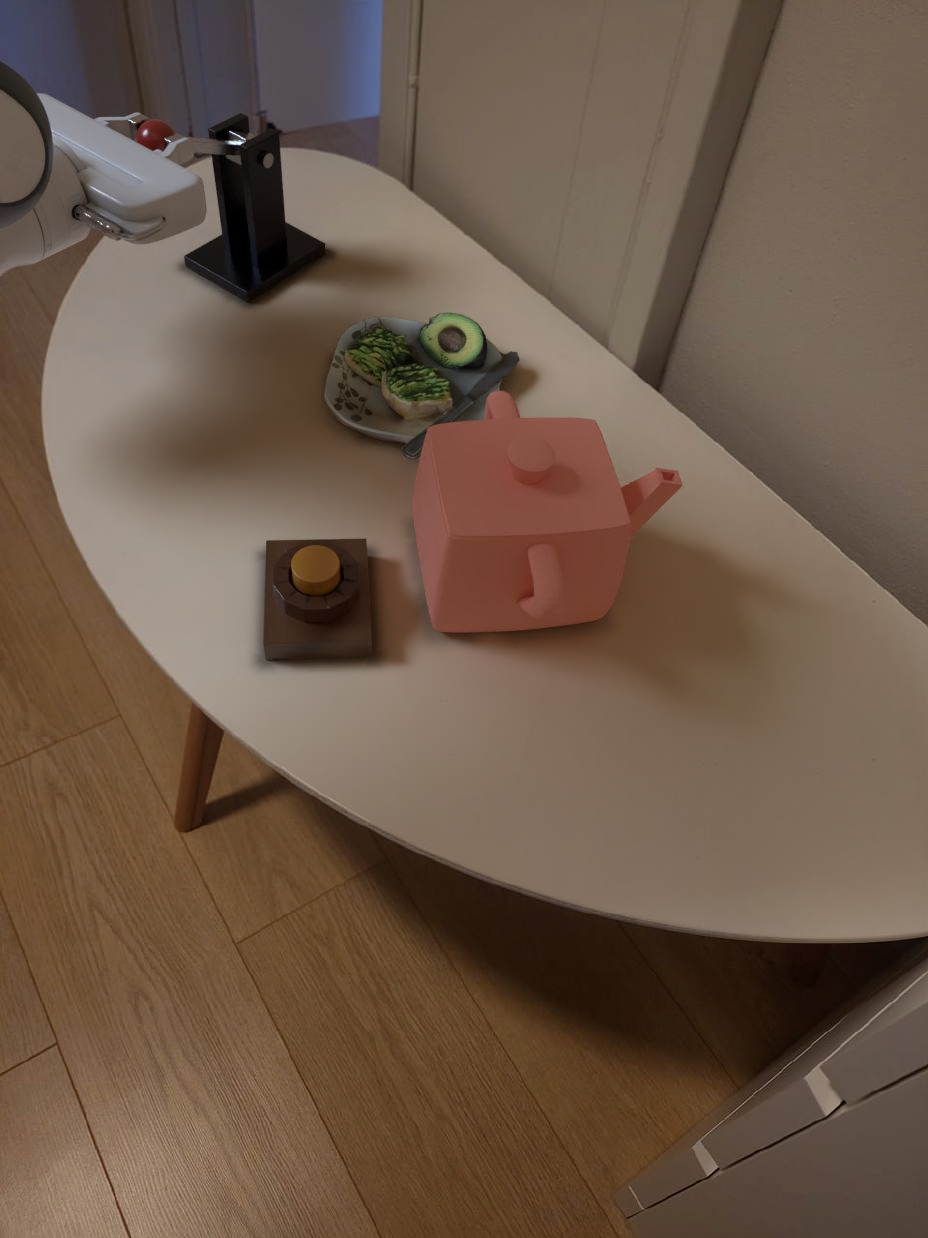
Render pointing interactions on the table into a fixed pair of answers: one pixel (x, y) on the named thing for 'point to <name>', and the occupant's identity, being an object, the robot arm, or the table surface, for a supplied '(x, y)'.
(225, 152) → the lever
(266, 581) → the button block
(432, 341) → the plate of avocado toast
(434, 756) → the table surface
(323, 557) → the button
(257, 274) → the bracket
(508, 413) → the teapot
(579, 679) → the table surface
